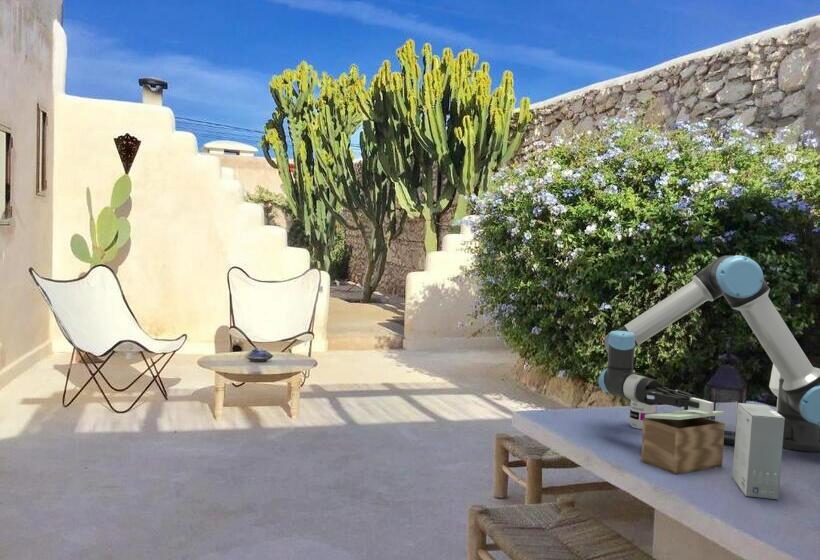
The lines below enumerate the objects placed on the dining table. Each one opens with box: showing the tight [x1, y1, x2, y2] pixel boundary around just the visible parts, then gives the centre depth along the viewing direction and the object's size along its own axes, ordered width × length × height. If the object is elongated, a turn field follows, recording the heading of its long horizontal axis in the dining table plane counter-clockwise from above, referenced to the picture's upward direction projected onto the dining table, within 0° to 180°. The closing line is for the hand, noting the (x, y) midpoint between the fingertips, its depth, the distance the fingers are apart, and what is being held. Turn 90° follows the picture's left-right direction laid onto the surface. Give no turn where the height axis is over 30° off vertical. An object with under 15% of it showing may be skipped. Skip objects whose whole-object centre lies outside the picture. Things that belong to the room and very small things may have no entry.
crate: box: [640, 417, 726, 476], centre depth 204 cm, size 18×12×12 cm
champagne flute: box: [768, 363, 780, 412], centre depth 254 cm, size 7×7×24 cm
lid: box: [645, 409, 726, 420], centre depth 203 cm, size 18×12×1 cm
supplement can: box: [629, 399, 658, 431], centre depth 244 cm, size 8×8×15 cm
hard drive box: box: [732, 402, 785, 500], centre depth 186 cm, size 16×8×20 cm, turn 168°
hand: (711, 407), depth 196 cm, fingers closed
